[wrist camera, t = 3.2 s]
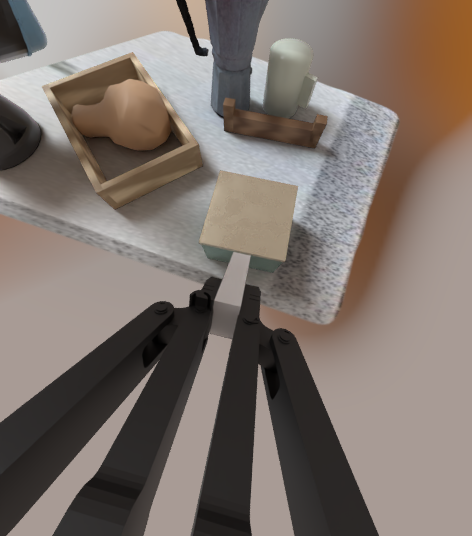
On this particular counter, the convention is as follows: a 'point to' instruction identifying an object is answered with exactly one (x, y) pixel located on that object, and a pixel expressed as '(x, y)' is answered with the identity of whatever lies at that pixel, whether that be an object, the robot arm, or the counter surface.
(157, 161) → the pine crate
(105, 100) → the squash
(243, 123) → the walnut stop rail
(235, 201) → the green tea tin
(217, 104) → the moka pot
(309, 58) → the sage mug
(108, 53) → the counter surface
